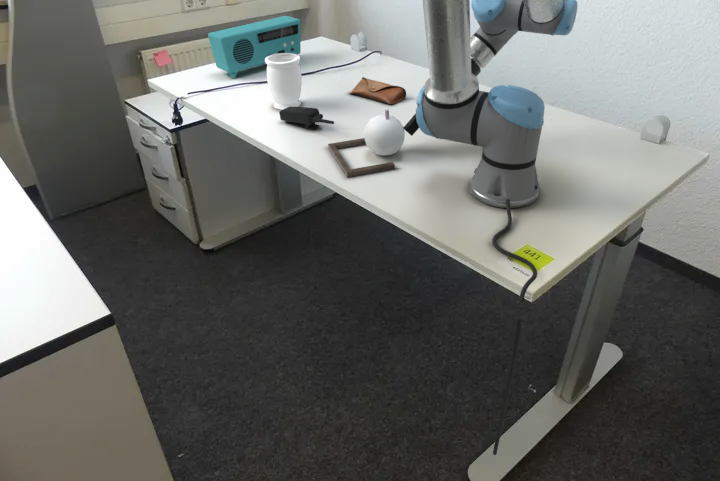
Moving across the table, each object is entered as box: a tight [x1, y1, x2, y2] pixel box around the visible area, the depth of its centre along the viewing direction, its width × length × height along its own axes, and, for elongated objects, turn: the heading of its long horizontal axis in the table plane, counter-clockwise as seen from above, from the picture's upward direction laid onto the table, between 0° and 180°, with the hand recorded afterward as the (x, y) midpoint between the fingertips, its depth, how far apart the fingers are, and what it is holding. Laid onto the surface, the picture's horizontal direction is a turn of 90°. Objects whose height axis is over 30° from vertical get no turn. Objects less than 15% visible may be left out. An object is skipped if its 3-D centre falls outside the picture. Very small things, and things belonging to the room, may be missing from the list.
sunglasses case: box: [348, 76, 407, 105], centre depth 176 cm, size 18×7×7 cm, turn 52°
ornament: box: [363, 108, 406, 156], centre depth 140 cm, size 10×10×12 cm
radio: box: [207, 15, 302, 79], centre depth 200 cm, size 34×10×15 cm, turn 132°
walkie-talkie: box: [278, 106, 335, 130], centre depth 156 cm, size 6×6×20 cm
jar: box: [265, 53, 303, 111], centre depth 168 cm, size 11×10×15 cm
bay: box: [327, 137, 396, 178], centre depth 141 cm, size 18×12×1 cm
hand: (407, 131), depth 142 cm, fingers closed
